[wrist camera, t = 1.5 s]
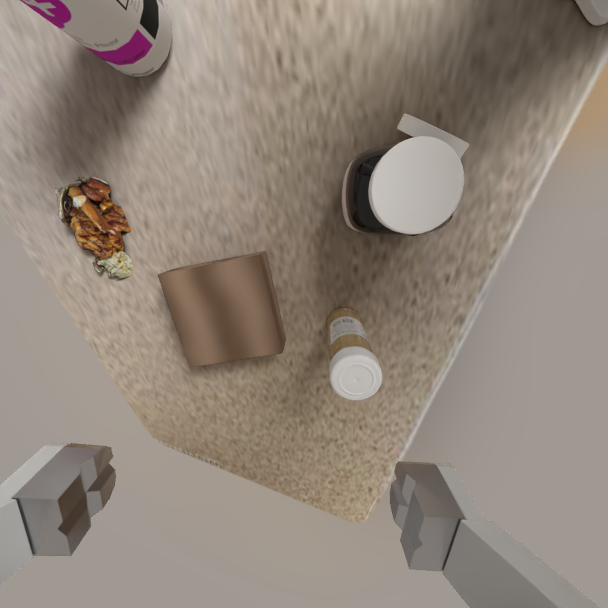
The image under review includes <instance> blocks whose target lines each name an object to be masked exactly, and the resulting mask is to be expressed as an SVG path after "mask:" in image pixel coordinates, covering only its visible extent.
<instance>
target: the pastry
mask: <svg viewBox="0 0 608 608" xmlns="http://www.w3.org/2000/svg"><path fill="white" fill-rule="evenodd" d="M81 178H84V177H83V176H82V177H78V179H77V180H76V181H79V180H80V182H79V183H78V184H75V185H73V184H70V185H68V186H67V187H65V188H61V189H59V190H58V191H55V194H56V195H57V204H58V207H59V214H58V216H59V217H60V219H61V220H62V222H63V223H64V224H65V225H66V226H68V227H69V226H70V227H71V228H72V230H73V232H74V236H75V238H76V240H77V242H78V244H79V246H80V247H81V248H82V249H84V250H89V251H90V252H91V253H92V254H93V255H95V257H96V259H95V260H96V262H97V263H96V262H95V261H94V262H93V265H94V267H95V269H96V270H97V271H98V272H99V273H101V272H107V273H108V274H107V275H108V277H110V278H112V279H114V280H116V281H117V280H120V279H122V278H125V277H128V276H131V274H130V270H129V269H131V271H133V266H132V260H131V259H130V258H129V257H128V255H126V254H125V253H124V252H123V249H124V241H123V238H122V236H121V232H120V231H124V232H127V231H128V232H129V231H131V228H130V227H129V225H128V223H127V219H126V217H125V214H124V212H123V210H122V208H121V207H120V206H116V205H114V204H113V202H112V201H111V200H110V198H109V197H108V193H110V191H111V189H110V186H109V185H108V183H106V182H105V181H103V180H101V179H99V178H96V177H94V176H93V177H90V178H89V179H81ZM56 189H57V188H56ZM68 193H69V195H70V196H69V195H68ZM68 197H69V198H70V201H69V199H68ZM64 201H67V202H66V204H65V207H66V209H67V211H66V210H65V209H64ZM103 265H104V266H103Z"/></svg>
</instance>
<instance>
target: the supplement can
mask: <svg viewBox="0 0 608 608" xmlns="http://www.w3.org/2000/svg"><path fill="white" fill-rule="evenodd" d="M21 1H22V2H23V3H25V4H26V5H27V6H29V7H30V8H32V9H33V10H34V11H36V12H37V13H39V14H40V15H41V16H43V17H44V18H46V19H47V20H48V21H50V22H51V23H53V24H54V25H55V26H57V27H58V28H60V29H61V30H62V31H64V32H65V33H66V34H68V35H69V36H71V37H72V38H73V39H75V40H76V41H78V42H79V43H80V44H82V45H83V46H85V47H86V48H87V49H89V50H90V51H92V52H93V53H94V54H96V55H97V56H98V57H100V58H101V59H103V60H104V61H105V62H107V63H108V64H110V65H111V66H112V67H114V68H115V69H117V70H118V71H119V72H121V73H124V74H127V75H130V76H133V77H139V76H148V75H149V74H151V73H153V72H154V71H156V70H158V69H159V68H160V67H161V65H162V64H163V62H164V61H165V60H166V58H167V57H168V53H169V50H170V46H171V43H172V23H171V20H170V16H169V13H168V9H167V6H166V4H165V3H164V1H163V0H21Z"/></svg>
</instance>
